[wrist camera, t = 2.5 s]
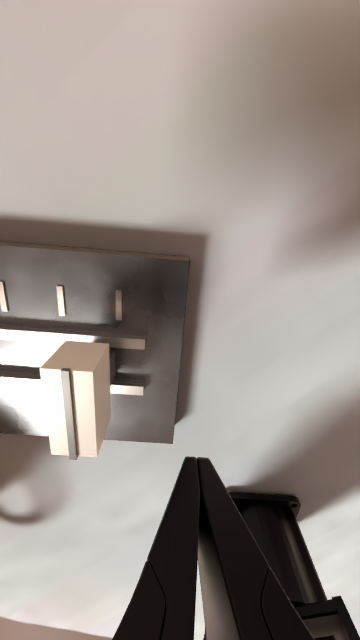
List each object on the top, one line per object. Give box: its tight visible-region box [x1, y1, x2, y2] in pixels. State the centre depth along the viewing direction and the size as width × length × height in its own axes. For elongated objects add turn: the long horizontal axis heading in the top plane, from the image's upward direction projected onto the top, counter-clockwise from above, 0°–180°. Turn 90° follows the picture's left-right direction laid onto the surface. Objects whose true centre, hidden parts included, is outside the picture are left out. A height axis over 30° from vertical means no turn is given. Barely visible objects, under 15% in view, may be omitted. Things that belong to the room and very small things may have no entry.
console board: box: [0, 241, 190, 444], centre depth 15 cm, size 19×12×2 cm, turn 85°
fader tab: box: [40, 341, 116, 460], centre depth 12 cm, size 2×4×4 cm, turn 175°
